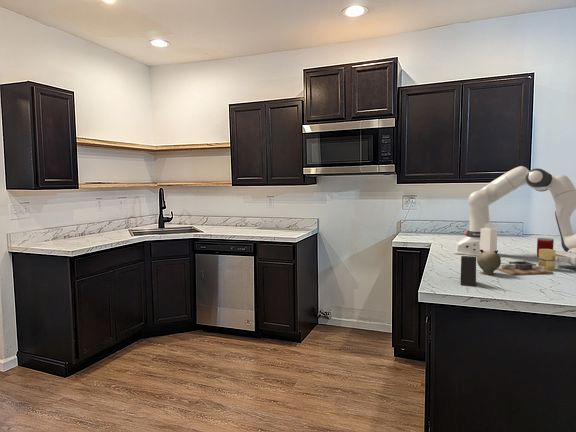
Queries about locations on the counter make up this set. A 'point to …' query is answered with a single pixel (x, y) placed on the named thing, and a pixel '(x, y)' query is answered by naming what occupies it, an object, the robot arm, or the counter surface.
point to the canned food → (544, 244)
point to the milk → (488, 238)
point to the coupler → (547, 258)
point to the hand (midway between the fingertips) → (551, 257)
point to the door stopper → (468, 270)
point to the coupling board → (522, 268)
